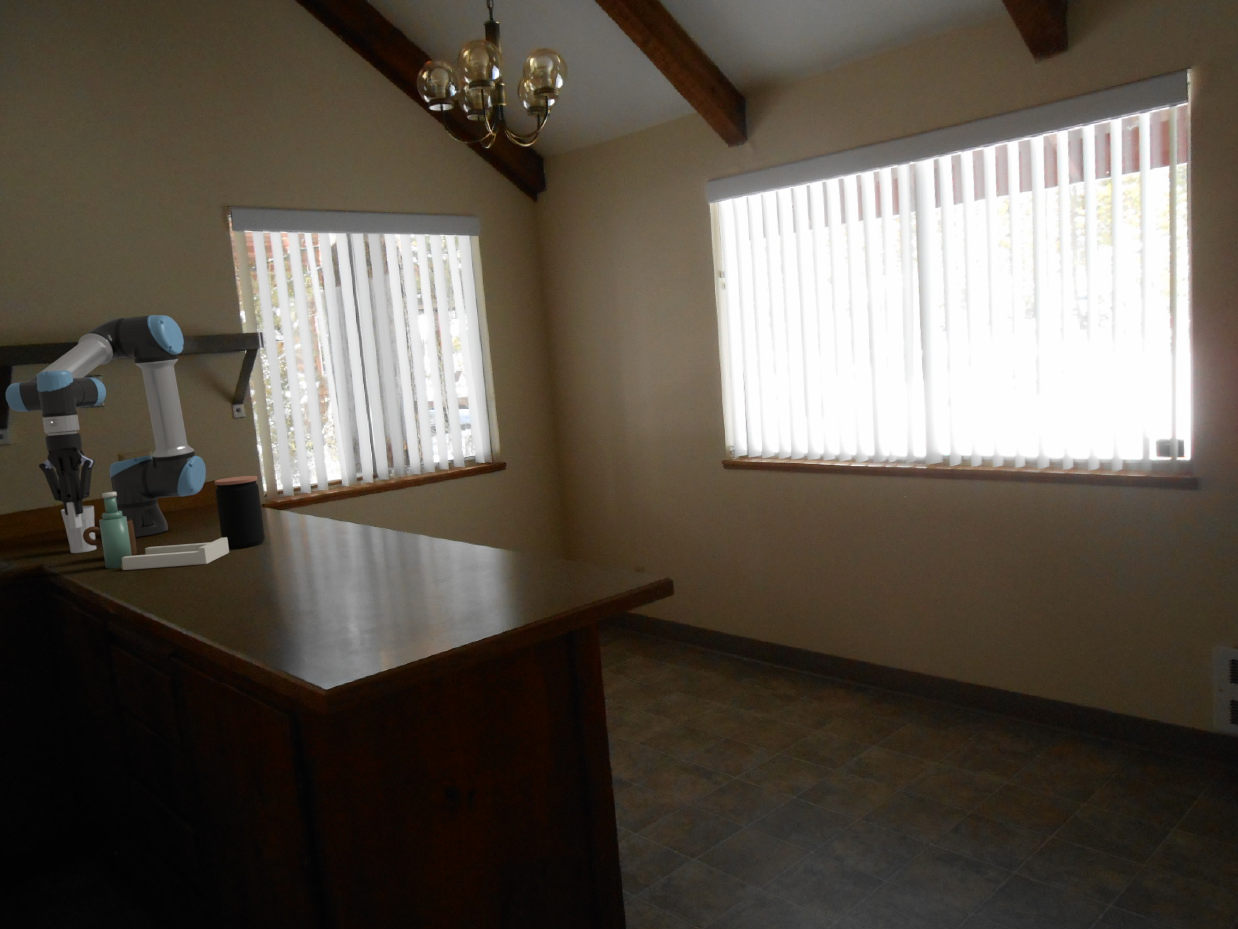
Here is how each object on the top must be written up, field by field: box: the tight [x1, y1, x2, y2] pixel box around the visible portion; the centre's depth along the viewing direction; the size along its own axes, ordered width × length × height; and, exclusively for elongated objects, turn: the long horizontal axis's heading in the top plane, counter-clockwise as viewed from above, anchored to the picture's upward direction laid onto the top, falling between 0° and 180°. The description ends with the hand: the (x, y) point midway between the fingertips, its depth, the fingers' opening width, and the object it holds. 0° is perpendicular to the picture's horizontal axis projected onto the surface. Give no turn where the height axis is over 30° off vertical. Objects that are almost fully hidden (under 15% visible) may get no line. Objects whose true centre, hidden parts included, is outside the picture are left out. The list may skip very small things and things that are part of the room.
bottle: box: [98, 491, 132, 569], centre depth 231 cm, size 6×6×18 cm
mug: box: [83, 519, 138, 556], centre depth 243 cm, size 12×8×9 cm, turn 134°
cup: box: [60, 505, 98, 554], centre depth 259 cm, size 8×8×12 cm
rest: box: [120, 537, 230, 571], centre depth 232 cm, size 13×22×4 cm, turn 89°
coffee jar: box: [214, 475, 266, 550], centre depth 247 cm, size 11×11×18 cm
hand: (76, 527), depth 231 cm, fingers closed
